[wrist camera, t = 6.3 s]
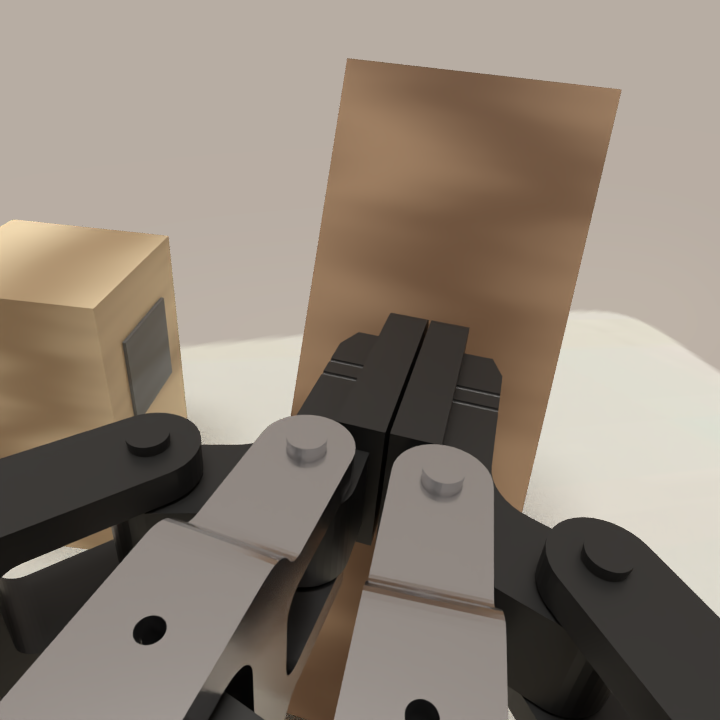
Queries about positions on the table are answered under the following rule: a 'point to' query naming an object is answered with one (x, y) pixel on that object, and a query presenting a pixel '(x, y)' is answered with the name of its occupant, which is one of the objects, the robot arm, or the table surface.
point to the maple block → (84, 334)
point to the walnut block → (451, 255)
